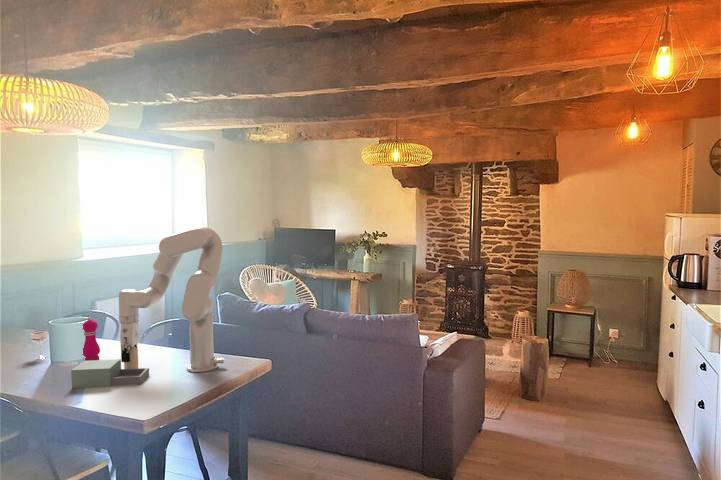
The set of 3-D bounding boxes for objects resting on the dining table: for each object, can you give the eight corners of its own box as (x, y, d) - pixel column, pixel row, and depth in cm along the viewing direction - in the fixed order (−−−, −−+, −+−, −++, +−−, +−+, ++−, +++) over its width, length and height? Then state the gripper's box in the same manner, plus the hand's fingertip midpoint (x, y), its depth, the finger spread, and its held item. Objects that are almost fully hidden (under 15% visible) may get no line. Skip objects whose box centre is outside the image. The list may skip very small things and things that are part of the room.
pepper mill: (92, 363, 225) (90, 318, 224) (78, 362, 226) (76, 318, 225) (104, 358, 232) (102, 315, 231) (90, 358, 234) (88, 315, 232)
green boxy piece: (149, 374, 209) (148, 357, 209) (140, 384, 197) (139, 367, 197) (85, 377, 206) (84, 360, 206) (72, 388, 194) (71, 370, 194)
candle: (141, 368, 218) (140, 345, 218) (130, 371, 213) (129, 348, 213) (132, 366, 220) (131, 343, 220) (121, 370, 215) (120, 346, 215)
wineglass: (51, 356, 236) (50, 331, 236) (36, 360, 231) (34, 334, 230) (44, 354, 240) (43, 329, 239) (28, 358, 234) (27, 332, 234)
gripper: (131, 323, 207) (132, 364, 208) (144, 314, 224) (145, 352, 226) (112, 323, 206) (112, 364, 208) (126, 314, 224) (127, 352, 225)
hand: (129, 358), depth 217 cm, fingers open, 9 cm apart
